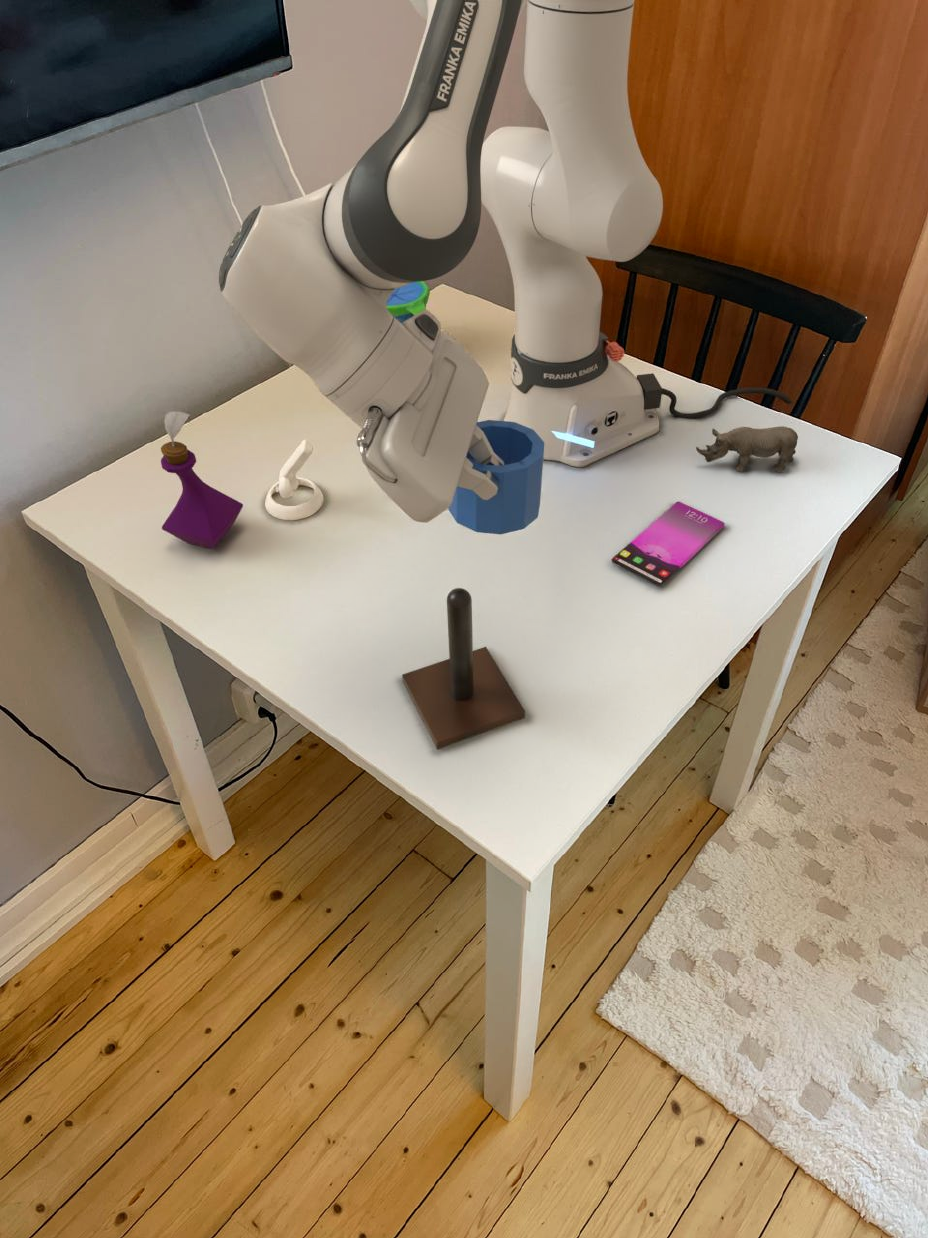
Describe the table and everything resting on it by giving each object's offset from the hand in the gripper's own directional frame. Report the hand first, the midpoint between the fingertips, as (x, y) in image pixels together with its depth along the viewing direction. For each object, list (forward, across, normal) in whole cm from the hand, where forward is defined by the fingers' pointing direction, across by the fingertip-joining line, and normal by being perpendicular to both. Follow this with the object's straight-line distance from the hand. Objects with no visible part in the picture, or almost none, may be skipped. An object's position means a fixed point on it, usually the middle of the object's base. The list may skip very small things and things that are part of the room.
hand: (496, 482), depth 87 cm
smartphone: (+31, +24, +5) cm, 39 cm away
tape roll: (+4, +3, +4) cm, 7 cm away
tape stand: (+16, -5, +20) cm, 26 cm away
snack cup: (0, +64, +36) cm, 74 cm away
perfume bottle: (-10, +16, +46) cm, 50 cm away
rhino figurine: (+37, +42, -1) cm, 56 cm away
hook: (-4, +24, +40) cm, 47 cm away
